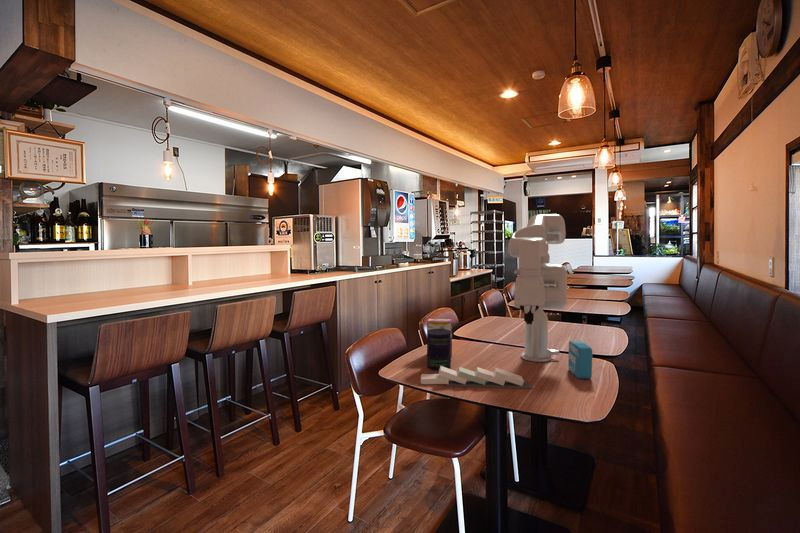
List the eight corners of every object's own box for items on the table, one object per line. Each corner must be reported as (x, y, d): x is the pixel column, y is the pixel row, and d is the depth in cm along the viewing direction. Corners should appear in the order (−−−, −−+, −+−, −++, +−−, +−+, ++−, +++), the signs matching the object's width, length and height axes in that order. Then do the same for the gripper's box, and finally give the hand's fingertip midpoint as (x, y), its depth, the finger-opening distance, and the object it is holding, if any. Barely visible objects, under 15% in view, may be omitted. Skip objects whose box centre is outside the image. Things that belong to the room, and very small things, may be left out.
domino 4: (521, 376, 148) (495, 367, 149) (524, 381, 143) (496, 371, 144) (519, 381, 148) (493, 372, 149) (522, 386, 143) (494, 376, 144)
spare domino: (485, 375, 150) (459, 366, 151) (486, 380, 145) (459, 371, 146) (483, 380, 150) (457, 371, 151) (484, 385, 145) (457, 376, 146)
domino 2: (466, 374, 150) (440, 365, 151) (466, 379, 145) (440, 370, 146) (464, 379, 151) (438, 370, 151) (465, 384, 146) (438, 375, 146)
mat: (527, 381, 149) (527, 380, 149) (531, 388, 142) (531, 387, 142) (446, 379, 153) (446, 378, 153) (447, 386, 145) (447, 385, 145)
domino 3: (503, 375, 149) (477, 366, 150) (505, 380, 144) (478, 371, 145) (501, 380, 149) (475, 371, 150) (503, 385, 144) (476, 376, 145)
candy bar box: (426, 357, 180) (426, 320, 179) (427, 354, 185) (427, 318, 184) (452, 357, 179) (452, 321, 178) (451, 354, 184) (451, 318, 183)
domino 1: (448, 373, 151) (421, 374, 152) (448, 378, 146) (420, 378, 147) (448, 379, 151) (421, 379, 153) (448, 383, 146) (421, 384, 148)
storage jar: (447, 372, 160) (447, 335, 159) (423, 369, 163) (423, 333, 162) (453, 364, 169) (453, 329, 168) (430, 362, 173) (430, 328, 171)
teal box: (568, 369, 162) (568, 339, 161) (579, 369, 162) (580, 339, 161) (579, 380, 150) (580, 348, 149) (591, 380, 150) (592, 348, 149)
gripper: (509, 274, 142) (509, 325, 144) (553, 274, 141) (552, 326, 143) (506, 272, 150) (506, 321, 152) (547, 272, 149) (547, 321, 150)
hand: (528, 323), depth 147 cm, fingers closed
